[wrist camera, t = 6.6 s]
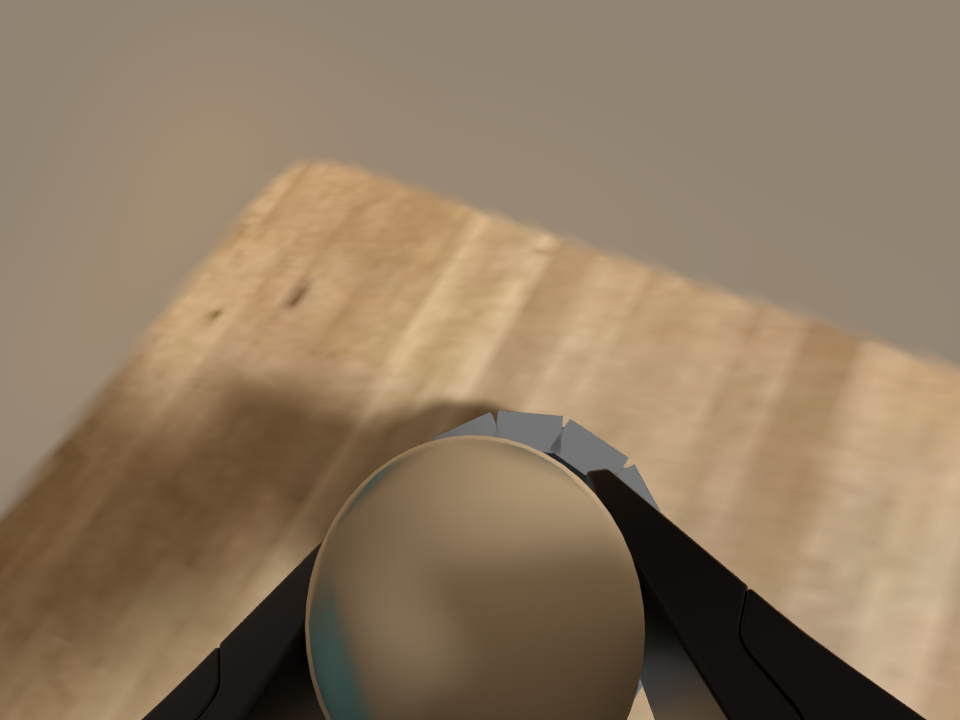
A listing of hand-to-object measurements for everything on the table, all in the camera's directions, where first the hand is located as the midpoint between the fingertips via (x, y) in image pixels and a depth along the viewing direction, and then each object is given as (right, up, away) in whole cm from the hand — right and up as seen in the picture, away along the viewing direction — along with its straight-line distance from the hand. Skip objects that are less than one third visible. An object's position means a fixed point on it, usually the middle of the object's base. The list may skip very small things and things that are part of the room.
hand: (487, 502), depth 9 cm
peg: (+1, -4, +6) cm, 7 cm away
